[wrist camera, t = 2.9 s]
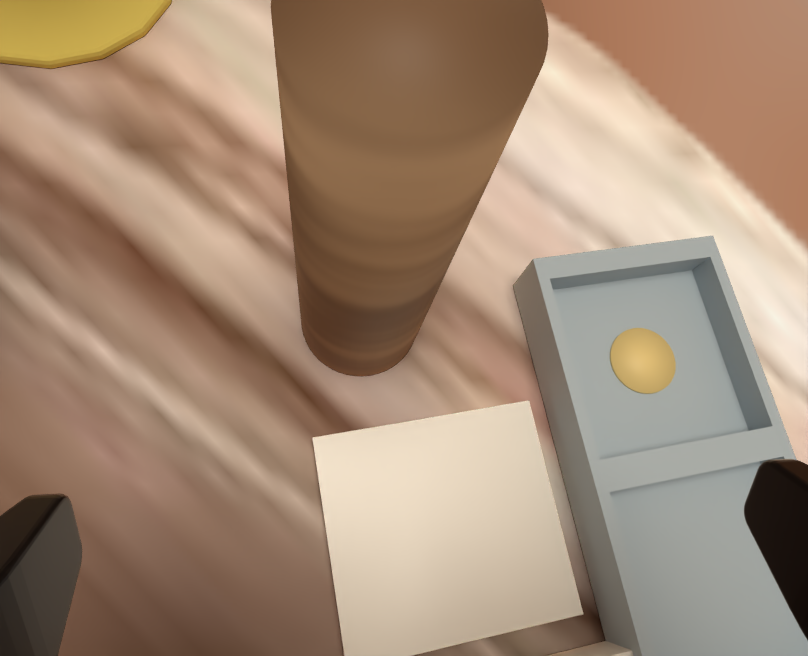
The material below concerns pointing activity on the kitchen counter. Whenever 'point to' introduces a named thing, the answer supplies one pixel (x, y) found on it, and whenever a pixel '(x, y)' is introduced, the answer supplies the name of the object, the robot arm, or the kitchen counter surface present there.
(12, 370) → the kitchen counter surface
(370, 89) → the walnut peg
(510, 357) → the kitchen counter surface
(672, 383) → the socket board
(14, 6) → the candle
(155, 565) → the kitchen counter surface
